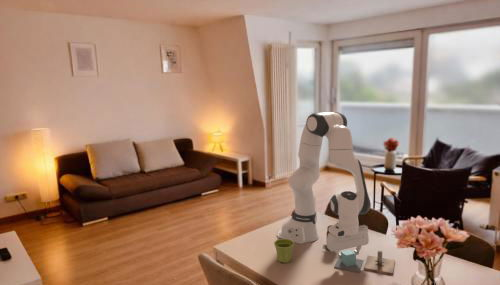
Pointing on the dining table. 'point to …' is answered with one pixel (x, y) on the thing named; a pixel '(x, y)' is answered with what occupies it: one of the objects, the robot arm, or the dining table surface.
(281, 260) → the plant pot
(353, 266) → the mat
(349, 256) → the teal cube
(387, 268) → the post
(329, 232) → the condiment
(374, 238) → the dining table surface
